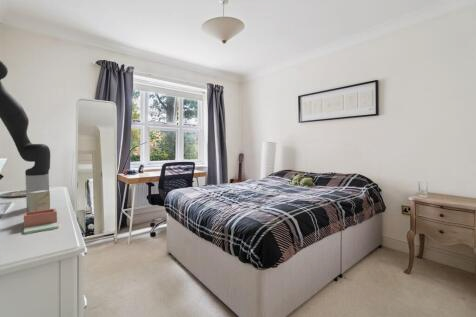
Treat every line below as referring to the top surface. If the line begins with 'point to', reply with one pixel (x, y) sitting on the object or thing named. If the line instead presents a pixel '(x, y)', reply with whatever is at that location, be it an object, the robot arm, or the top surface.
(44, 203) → the skincare box
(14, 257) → the top surface
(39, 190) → the robot arm
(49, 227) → the pad
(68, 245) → the top surface
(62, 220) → the top surface
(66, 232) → the top surface
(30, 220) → the bin
